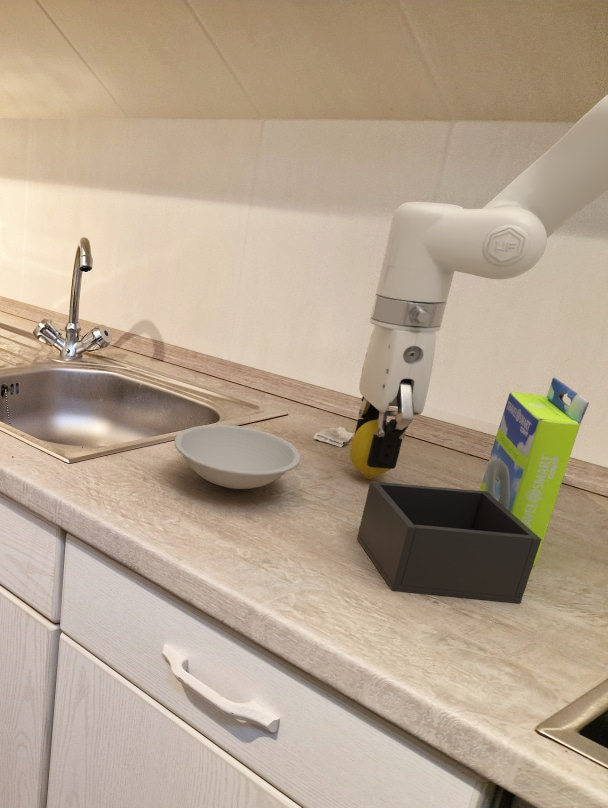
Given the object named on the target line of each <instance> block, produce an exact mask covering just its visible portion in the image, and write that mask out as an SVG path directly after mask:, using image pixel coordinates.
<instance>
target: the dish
mask: <svg viewBox="0 0 608 808" xmlns="http://www.w3.org/2000/svg"><path fill="white" fill-rule="evenodd" d="M174 446H175V449H176V450H177V452H178V453H179V454H180V455H181V456H182V457H183V458H184V460H185V461H186V463H187V464H188V466H189V467H190V468H191V469H192V470H193V472H195V473H196V474H197V475H199V477H201V478H203V479H204V480H206V481H208V482H210V483H212V484H215V485H217V486H220V487H224V488H228V489H237V490H247V489H248V490H249V489H257V488H261V487H263V486H267V485H269V484H271V483H272V482H274V481H276V480H278V479H280V478H281V477H282V476H284V475H285V474H286V473H288V472H290V471H292V470H294V469H295V468H297V467H298V465H299V464H300V462H301V460H302V459H301V453H300V452H299V450H298V448H297V447H296V446H295V445H294V444H292V443H290V442H289V441H287V440H286V439H284V438H282V437H280V436H277V435H275V434H272V433H270V432H267V431H263V430H260V429H257V428H253V427H248V426H247V427H246V426H241V425H232V424H231V425H230V424H205V425H197V426H193V427H188V428H186V429H184V430H182V431H180V432H179V433H178V434H177V435H176V436H175V438H174Z"/></svg>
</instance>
